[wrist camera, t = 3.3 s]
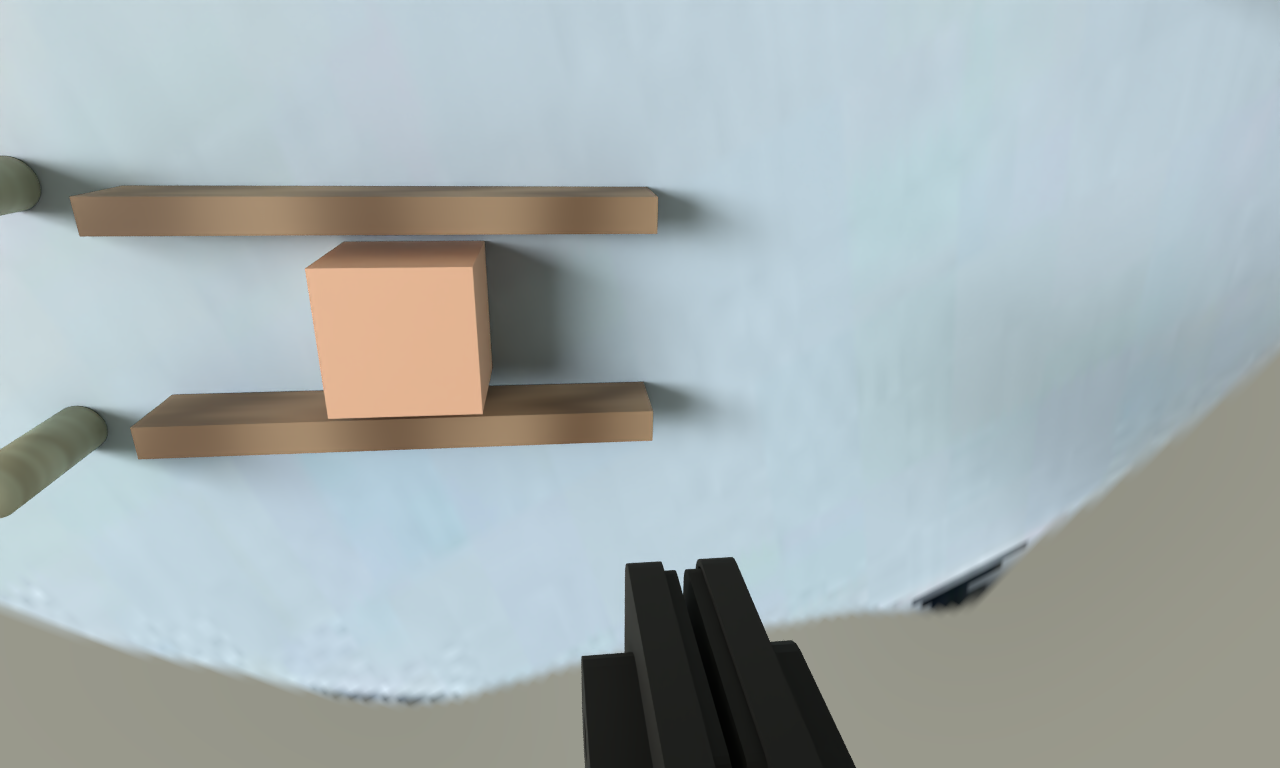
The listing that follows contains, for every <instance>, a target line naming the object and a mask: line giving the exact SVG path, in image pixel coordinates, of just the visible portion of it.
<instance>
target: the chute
mask: <svg viewBox="0 0 1280 768" xmlns="http://www.w3.org/2000/svg"><path fill="white" fill-rule="evenodd" d="M40 194H41V187H40V183H39V180H38V178H37V176H36V174H35V173H34V172H33V170H32V169H31V168H30V167H29V166H27V165H26V164H25V163H23V162H22V161H20V160H18V159H16V158H13V157H9V156H0V216H1V215H5V214H10V213H15V212H19V211H24V210H28V209H30V208H32V207H33V206H35V204H36V203H37V202H38V200H39V198H40ZM70 201H71V205H72V209H73V213H74V216H75V220H76V224H77V228H78V232H79V235H80V236H265V235H477V234H657V219H658V197H657V196H656V195H655V194H654V193H653V192H652V191H651V190H650V189H649V188H648V187H510V186H118V187H113V188H109V189H104V190H99V191H94V192H89V193H84V194H79V195H74V196H70ZM130 429H131V433H132V437H133V441H134V445H135V448H136V452H137V456H138V459H159V458H186V457H214V456H241V455H269V454H296V453H323V452H351V451H378V450H406V449H433V448H461V447H488V446H516V445H543V444H570V443H598V442H625V441H652V435H653V409H652V406H651V403H650V400H649V397H648V394H647V391H646V388H645V385H644V382H618V383H582V384H545V385H509V386H489V387H488V391H487V396H486V401H485V405H484V410H483V414H467V415H435V416H403V417H371V418H340V419H328V415H327V408H326V402H325V395H324V391H290V392H253V393H217V394H180V395H171V396H170V397H169V398H167V399H166V400H165V401H164V402H162V403H161V404H160V405H159V406H157V407H156V408H155V409H153V410H152V411H151V412H150V413H148V414H147V415H146V416H144V417H143V418H142V419H141V420H139V421H138V422H137V423H136V424H134V425H133V426H132V427H130ZM107 433H108V432H107V426H106V424H105V422H104V420H103V419H102V418H101V416H100V415H98V414H97V413H96V412H94V411H93V410H91V409H88V408H86V407H81V406H71V407H67V408H65V409H63V410H61V411H60V412H58V413H57V414H55V415H53V416H52V417H50V418H49V419H47V420H46V421H44V422H43V423H41V424H39V425H38V426H36V427H35V428H33V429H32V430H30V431H28V432H27V433H25V434H24V435H22V436H21V437H19V438H17V439H16V440H14V441H13V442H11V443H10V444H8V445H7V446H5V447H3V448H2V449H0V518H3V517H6V516H8V515H10V514H12V513H13V512H15V511H16V510H17V509H18V508H20V507H21V506H22V505H24V504H25V503H26V502H27V501H29V500H30V499H31V498H33V497H34V496H35V495H37V494H38V493H39V492H40V491H42V490H43V489H44V488H46V487H47V486H48V485H50V484H51V483H52V482H53V481H55V480H56V479H57V478H59V477H60V476H61V475H62V474H64V473H65V472H66V471H68V470H69V469H70V468H72V467H73V466H74V465H75V464H77V463H78V462H79V461H81V460H82V459H83V458H85V457H86V456H87V455H88V454H90V453H91V452H92V451H94V450H95V449H96V448H97V447H99V446H100V445H101V444H102V443H103V442H104V441H105V440H106V438H107Z"/></svg>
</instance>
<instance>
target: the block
mask: <svg viewBox="0 0 1280 768" xmlns="http://www.w3.org/2000/svg"><path fill="white" fill-rule="evenodd" d="M305 272H306V278H307V285H308V291H309V298H310V304H311V311H312V317H313V324H314V330H315V337H316V343H317V350H318V356H319V363H320V369H321V376H322V382H323V389H324V395H325V402H326V408H327V415H328V419H340V418H371V417H403V416H435V415H467V414H483V410H484V405H485V401H486V396H487V391H488V387H489V382H490V377H491V373H492V352H491V336H490V320H489V304H488V288H487V272H486V256H485V241H374V242H343V243H341V244H340V245H338V246H337V247H335V248H334V249H333V250H331V251H330V252H328V253H327V254H325V255H324V256H322V257H321V258H320V259H318V260H317V261H315V262H314V263H312V264H311V265H310V266H308V267H307V268H305Z"/></svg>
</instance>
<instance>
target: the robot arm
mask: <svg viewBox="0 0 1280 768" xmlns="http://www.w3.org/2000/svg"><path fill="white" fill-rule="evenodd" d="M581 669H582V713H583V738H584V757H585V768H856V767H855V765H854V763H853V760H852V758H851V756H850V754H849V753H848V750H847V748H846V746H845V744H844V741H843V739H842V737H841V735H840V733H839V731H838V729H837V727H836V725H835V722H834V720H833V718H832V716H831V714H830V712H829V710H828V708H827V706H826V703H825V701H824V699H823V697H822V695H821V693H820V691H819V689H818V687H817V685H816V682H815V680H814V678H813V676H812V674H811V672H810V670H809V668H808V666H807V663H806V661H805V659H804V657H803V655H802V653H801V651H800V649H799V648H798V646H797V644H796V643H795V642H793V641H791V640H790V641H776V642H770V641H769V638H768V636H767V634H766V631H765V629H764V627H763V624H762V622H761V619H760V617H759V615H758V612H757V610H756V608H755V605H754V603H753V601H752V598H751V596H750V594H749V591H748V589H747V586H746V584H745V582H744V579H743V577H742V575H741V572H740V570H739V568H738V565H737V563H736V561H735V559H734V558H733V557H726V558H709V559H698V560H697V563H696V569H686V570H685V573H684V586H683V593H682V590H681V586H680V583H679V579H678V576H677V573H676V571H675V570H669V571H664V568H663V565H662V562H661V561H660V562H643V563H627V564H626V567H625V653H617V654H603V655H590V656H582V659H581Z"/></svg>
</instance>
